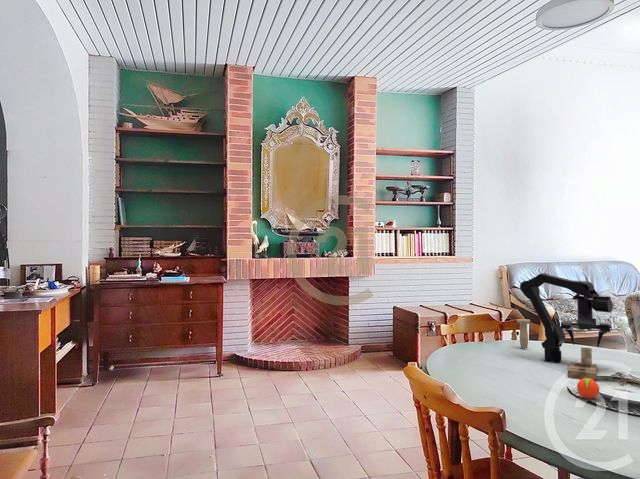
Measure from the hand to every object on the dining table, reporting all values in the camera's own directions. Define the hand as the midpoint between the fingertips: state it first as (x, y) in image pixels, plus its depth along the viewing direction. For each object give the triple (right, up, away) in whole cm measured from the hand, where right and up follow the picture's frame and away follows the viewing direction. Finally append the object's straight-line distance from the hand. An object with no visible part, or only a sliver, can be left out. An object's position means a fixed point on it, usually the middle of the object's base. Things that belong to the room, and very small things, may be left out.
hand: (585, 345), depth 206 cm
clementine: (-22, -10, -40) cm, 47 cm away
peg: (0, -9, 0) cm, 9 cm away
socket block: (-8, -9, -12) cm, 17 cm away
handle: (-11, -10, +36) cm, 39 cm away
